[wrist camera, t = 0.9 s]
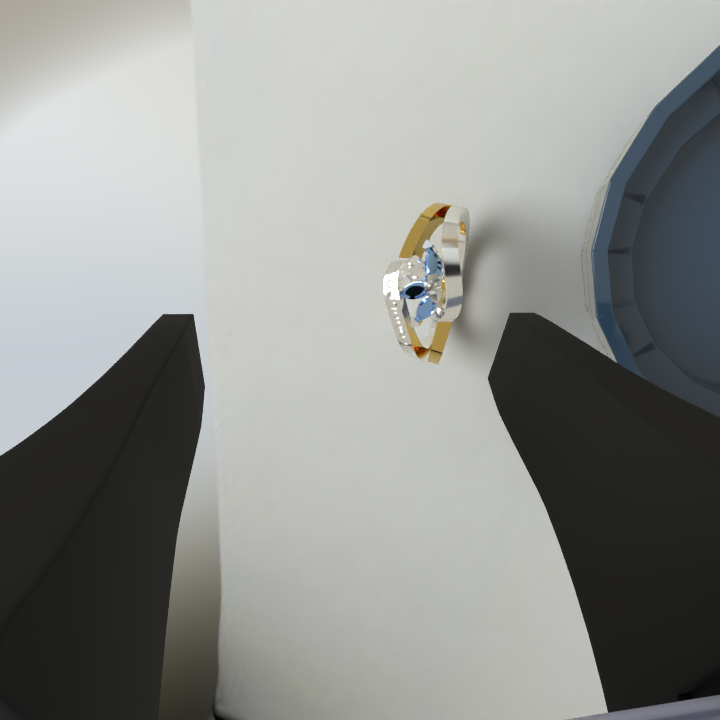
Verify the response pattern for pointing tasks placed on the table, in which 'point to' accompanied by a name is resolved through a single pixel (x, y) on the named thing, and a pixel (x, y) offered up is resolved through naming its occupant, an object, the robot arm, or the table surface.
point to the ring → (429, 280)
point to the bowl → (663, 245)
